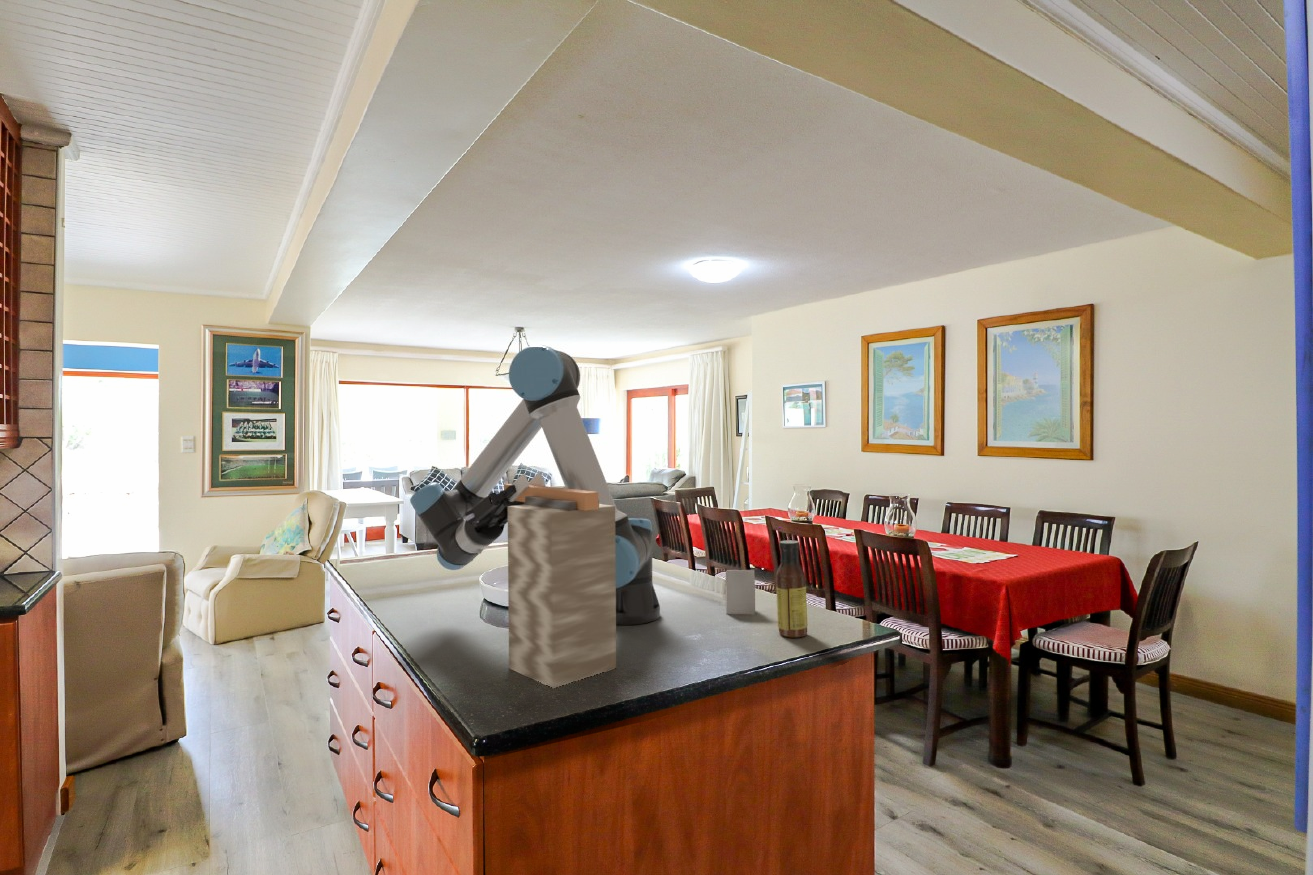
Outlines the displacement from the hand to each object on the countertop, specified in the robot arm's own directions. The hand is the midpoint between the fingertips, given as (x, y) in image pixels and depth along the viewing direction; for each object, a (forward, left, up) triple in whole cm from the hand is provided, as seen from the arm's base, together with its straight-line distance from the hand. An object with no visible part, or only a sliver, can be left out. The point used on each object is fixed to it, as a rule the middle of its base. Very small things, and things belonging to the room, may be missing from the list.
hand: (533, 479), depth 134 cm
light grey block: (-53, -7, -35) cm, 64 cm away
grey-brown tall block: (-2, +8, -34) cm, 35 cm away
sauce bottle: (-52, +13, -35) cm, 64 cm away
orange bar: (-1, +5, -4) cm, 6 cm away
